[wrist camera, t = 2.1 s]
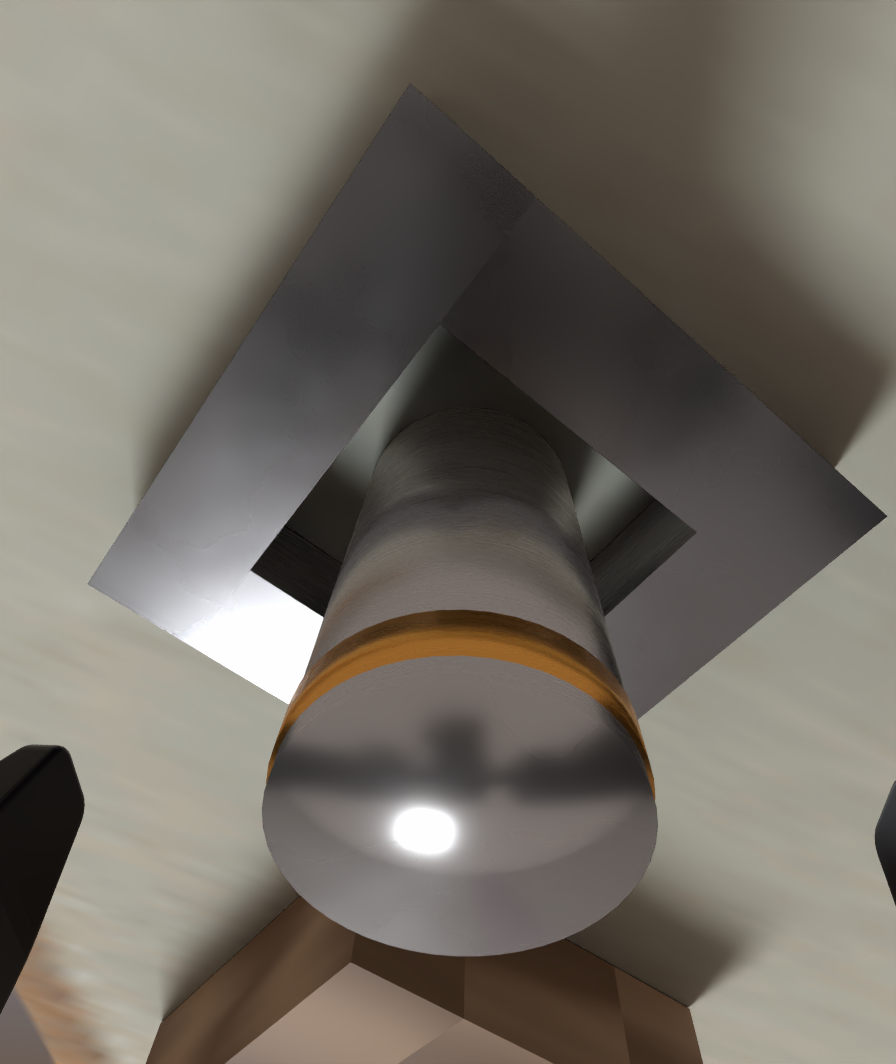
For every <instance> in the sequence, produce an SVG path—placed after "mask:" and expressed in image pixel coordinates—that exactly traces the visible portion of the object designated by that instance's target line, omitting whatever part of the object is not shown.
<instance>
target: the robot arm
mask: <svg viewBox="0 0 896 1064" xmlns="http://www.w3.org/2000/svg"><path fill="white" fill-rule="evenodd" d="M84 806H85V804H84V795H83V792H82V789H81V786H80V783H79V780H78V777H77V774H76V771H75V767H74V764H73V761H72V758H71V755H70V753H69V751H68V750H67V749H66V748H64V747H62V746H58V745H27V746H24V747H22V748H20V749H18V750H17V751H15V752H13V753H12V754H10V755H9V756H7V757H5V758H4V759H2V760H1V761H0V1014H1V1012H2V1010H3V1008H4V1006H5V1004H6V1002H7V1000H8V998H9V996H10V994H11V992H12V990H13V988H14V986H15V984H16V982H17V980H18V977H19V975H20V973H21V971H22V969H23V967H24V965H25V963H26V961H27V958H28V956H29V954H30V951H31V949H32V947H33V944H34V942H35V939H36V937H37V935H38V932H39V929H40V927H41V924H42V922H43V919H44V917H45V914H46V912H47V909H48V906H49V904H50V901H51V899H52V896H53V894H54V891H55V888H56V886H57V883H58V881H59V878H60V876H61V873H62V870H63V868H64V865H65V863H66V860H67V858H68V855H69V852H70V850H71V847H72V845H73V842H74V840H75V837H76V834H77V832H78V829H79V827H80V824H81V821H82V818H83V814H84ZM875 845H876V850H877V854H878V857H879V860H880V863H881V865H882V868H883V871H884V874H885V877H886V880H887V882H888V885H889V888H890V891H891V894H892V897H893V900H894V902H895V905H896V781H895V782H894V784H893V785H892V788H891V790H890V793H889V795H888V798H887V800H886V803H885V805H884V808H883V810H882V813H881V815H880V818H879V820H878V823H877V826H876V829H875Z"/></svg>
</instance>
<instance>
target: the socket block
mask: <svg viewBox="0 0 896 1064" xmlns="http://www.w3.org/2000/svg"><path fill="white" fill-rule="evenodd" d="M146 1064H703V1061H702V1057H701V1053H700V1049H699V1045H698V1041H697V1037H696V1033H695V1029H694V1025H693V1021H692V1017H691V1013H690V1009H689V1008H687V1007H685V1006H683V1005H682V1004H680V1003H678V1002H676V1001H674V1000H673V999H671V998H669V997H667V996H666V995H664V994H662V993H660V992H658V991H657V990H655V989H653V988H651V987H650V986H648V985H646V984H644V983H642V982H641V981H639V980H637V979H635V978H634V977H632V976H630V975H628V974H626V973H625V972H623V971H621V970H619V969H618V968H616V967H614V966H612V965H610V964H609V963H607V962H605V961H603V960H602V959H600V958H598V957H596V956H594V955H593V954H591V953H589V952H587V951H586V950H584V949H582V948H580V947H578V946H577V945H575V944H573V943H571V942H570V941H568V940H566V939H562V940H559V941H556V942H553V943H550V944H547V945H544V946H541V947H537V948H533V949H529V950H525V951H520V952H514V953H507V954H501V955H489V956H447V955H435V954H428V953H422V952H416V951H410V950H406V949H402V948H398V947H394V946H390V945H387V944H384V943H381V942H378V941H375V940H372V939H370V938H367V937H365V936H362V935H360V934H358V933H356V932H354V931H351V930H349V929H347V928H345V927H344V926H342V925H340V924H338V923H337V922H335V921H333V920H331V919H330V918H328V917H327V916H325V915H324V914H323V913H321V912H320V911H318V910H317V909H316V908H314V907H313V906H312V905H311V904H309V903H308V902H307V901H306V900H305V899H304V898H303V897H302V896H299V897H298V898H297V899H296V900H295V901H294V902H293V903H292V904H291V905H290V906H289V907H287V908H286V909H285V910H284V911H283V912H282V913H281V914H280V915H279V916H278V917H276V918H275V919H274V920H273V921H272V922H271V923H270V924H269V925H268V926H267V927H266V928H264V929H263V930H262V931H261V932H260V933H259V934H258V935H257V936H256V937H255V938H253V939H252V940H251V941H250V942H249V943H248V944H247V945H246V946H245V947H244V948H242V949H241V950H240V951H239V952H238V953H237V954H236V955H235V956H234V957H233V958H232V959H230V960H229V961H228V962H227V963H226V964H225V965H224V966H223V967H222V968H221V969H219V970H218V971H217V972H216V973H215V974H214V975H213V976H212V977H211V978H210V979H209V980H207V981H206V982H205V983H204V984H203V985H202V986H201V987H200V988H199V989H198V990H196V991H195V992H194V993H193V994H192V995H191V996H190V997H189V998H188V999H187V1000H185V1001H184V1002H183V1003H182V1004H181V1005H180V1006H179V1007H178V1008H177V1009H176V1010H175V1011H173V1012H172V1013H171V1014H170V1015H169V1016H168V1017H167V1018H166V1019H165V1020H164V1021H162V1022H161V1024H160V1027H159V1029H158V1032H157V1035H156V1037H155V1040H154V1043H153V1045H152V1048H151V1051H150V1054H149V1056H148V1059H147V1062H146Z"/></svg>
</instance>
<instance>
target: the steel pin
mask: <svg viewBox="0 0 896 1064" xmlns="http://www.w3.org/2000/svg"><path fill="white" fill-rule="evenodd" d="M262 817H263V829H264V833H265V837H266V841H267V845H268V847H269V850H270V852H271V854H272V857H273V859H274V861H275V863H276V865H277V866H278V868H279V869H280V871H281V872H282V874H283V876H284V877H285V878H286V880H287V881H288V882H289V883H290V884H291V886H292V887H293V888H294V889H295V890H296V891H297V893H299V894H300V895H301V896H302V897H303V898H304V899H305V900H306V901H307V902H308V903H309V904H311V905H312V906H313V907H314V908H316V909H317V910H318V911H320V912H321V913H323V914H324V915H325V916H327V917H328V918H330V919H331V920H333V921H335V922H337V923H338V924H340V925H342V926H344V927H345V928H347V929H349V930H351V931H354V932H356V933H358V934H360V935H362V936H365V937H367V938H370V939H372V940H375V941H378V942H381V943H384V944H387V945H390V946H394V947H398V948H402V949H406V950H410V951H416V952H422V953H428V954H435V955H447V956H489V955H501V954H507V953H514V952H520V951H525V950H529V949H533V948H537V947H541V946H544V945H547V944H550V943H553V942H556V941H559V940H562V939H564V938H566V937H569V936H571V935H573V934H575V933H577V932H579V931H582V930H584V929H585V928H587V927H589V926H590V925H592V924H594V923H595V922H597V921H599V920H600V919H602V918H603V917H604V916H606V915H607V914H608V913H609V912H611V911H612V910H613V909H615V908H616V907H617V906H618V905H619V904H620V903H621V902H622V901H623V900H624V899H625V898H626V897H627V896H628V895H629V894H630V893H631V892H632V890H633V889H634V888H635V886H636V885H637V884H638V882H639V881H640V879H641V878H642V876H643V874H644V872H645V871H646V869H647V867H648V865H649V863H650V861H651V857H652V854H653V851H654V848H655V844H656V837H657V828H658V821H657V808H656V804H655V788H654V778H653V774H652V770H651V766H650V763H649V759H648V755H647V752H646V748H645V745H644V741H643V738H642V734H641V731H640V727H639V724H638V720H637V716H636V713H635V711H634V708H633V706H632V704H631V702H630V700H629V698H628V695H627V694H626V692H625V690H624V687H623V683H622V679H621V676H620V672H619V669H618V665H617V661H616V658H615V654H614V650H613V647H612V643H611V639H610V636H609V632H608V628H607V625H606V621H605V618H604V614H603V610H602V607H601V603H600V599H599V596H598V592H597V588H596V585H595V581H594V577H593V574H592V570H591V567H590V563H589V559H588V556H587V552H586V548H585V545H584V541H583V537H582V534H581V530H580V526H579V523H578V519H577V515H576V512H575V508H574V505H573V501H572V497H571V494H570V490H569V486H568V483H567V479H566V475H565V472H564V469H563V467H562V464H561V462H560V460H559V458H558V456H557V455H556V453H555V451H554V450H553V448H552V447H551V446H550V445H549V443H548V442H547V441H546V440H545V439H544V438H543V437H542V436H541V435H540V434H539V433H538V432H537V431H536V430H534V429H533V428H532V427H530V426H529V425H527V424H526V423H524V422H523V421H521V420H519V419H517V418H515V417H513V416H510V415H508V414H505V413H502V412H499V411H495V410H490V409H486V408H475V407H464V408H453V409H447V410H442V411H439V412H436V413H433V414H430V415H428V416H425V417H423V418H421V419H419V420H417V421H416V422H414V423H412V424H411V425H409V426H408V427H406V428H405V429H404V430H403V431H401V432H400V433H399V434H398V435H397V436H396V437H395V438H394V439H393V440H392V441H391V442H390V443H389V445H388V446H387V448H386V449H385V450H384V452H383V453H382V455H381V457H380V459H379V461H378V463H377V465H376V468H375V470H374V473H373V476H372V479H371V482H370V485H369V488H368V491H367V494H366V497H365V499H364V502H363V505H362V508H361V511H360V514H359V517H358V520H357V523H356V526H355V528H354V531H353V534H352V537H351V540H350V543H349V546H348V549H347V552H346V555H345V558H344V560H343V563H342V566H341V569H340V572H339V575H338V578H337V581H336V584H335V587H334V589H333V592H332V595H331V598H330V601H329V604H328V607H327V610H326V613H325V616H324V618H323V621H322V624H321V627H320V630H319V633H318V636H317V639H316V642H315V645H314V647H313V650H312V653H311V656H310V659H309V662H308V665H307V668H306V671H305V674H304V677H303V679H302V680H301V682H300V683H299V685H298V687H297V689H296V691H295V693H294V694H293V696H292V698H291V700H290V703H289V706H288V709H287V712H286V714H285V717H284V720H283V723H282V726H281V729H280V731H279V734H278V737H277V740H276V743H275V746H274V749H273V752H272V755H271V758H270V761H269V765H268V773H267V780H266V788H265V791H264V798H263V805H262Z"/></svg>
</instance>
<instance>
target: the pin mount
mask: <svg viewBox="0 0 896 1064" xmlns="http://www.w3.org/2000/svg"><path fill="white" fill-rule="evenodd" d="M439 324H441V325H442V326H443V327H444V328H446V329H447V330H448V331H449V332H451V333H452V334H453V335H454V336H456V337H457V338H458V339H459V340H461V341H462V342H463V343H464V344H465V345H467V346H468V347H469V348H470V349H472V350H473V351H474V352H475V353H477V354H478V355H479V356H480V357H481V358H483V359H484V360H485V361H486V362H488V363H489V364H490V365H491V366H493V367H494V368H495V369H496V370H497V371H499V372H500V373H501V374H502V375H504V376H505V377H506V378H507V379H509V380H510V381H511V382H512V383H514V384H515V385H516V386H517V387H518V388H520V389H521V390H522V391H523V392H525V393H526V394H527V395H528V396H530V397H531V398H532V399H533V400H534V401H536V402H537V403H538V404H539V405H541V406H542V407H543V408H544V409H546V410H547V411H548V412H549V413H551V414H552V415H553V416H554V417H555V418H557V419H558V420H559V421H560V422H562V423H563V424H564V425H565V426H567V427H568V428H569V429H570V430H571V431H573V432H574V433H575V434H576V435H578V436H579V437H580V438H581V439H583V440H584V441H585V442H586V443H588V444H589V445H590V446H591V447H592V448H594V449H595V450H596V451H597V452H599V453H600V454H601V455H602V456H604V457H605V458H606V459H607V460H608V461H610V462H611V463H612V464H613V465H615V466H616V467H617V468H618V469H620V470H621V471H622V472H623V473H625V474H626V475H627V476H628V477H629V478H631V479H632V480H633V481H634V482H636V483H637V484H638V485H639V486H641V487H642V488H643V489H644V490H645V491H647V492H648V493H649V494H650V495H652V496H653V497H654V498H655V500H654V501H653V502H652V503H651V504H650V505H649V506H648V507H647V508H646V509H645V510H644V511H643V512H642V513H641V514H640V515H639V516H638V517H637V518H635V519H634V520H633V521H632V522H631V523H630V524H629V525H628V526H627V527H626V528H625V529H624V530H623V531H622V532H621V533H620V534H619V535H618V536H617V537H616V538H615V539H614V540H613V541H612V542H611V543H610V544H609V545H608V546H606V547H605V548H604V549H603V550H602V551H601V552H600V553H599V554H598V555H597V556H596V557H595V558H594V559H593V560H592V561H591V562H590V567H591V570H592V574H593V577H594V581H595V585H596V588H597V592H598V596H599V599H600V603H601V607H602V610H603V614H604V618H605V621H606V625H607V628H608V632H609V636H610V639H611V643H612V647H613V650H614V654H615V658H616V661H617V665H618V669H619V672H620V676H621V679H622V683H623V687H624V690H625V692H626V694H627V695H628V698H629V700H630V702H631V704H632V706H633V708H634V711H635V713H636V716H637V720H638V719H639V718H640V717H641V716H643V715H644V714H645V713H646V712H648V711H649V710H650V709H651V708H652V707H654V706H655V705H656V704H657V703H659V702H660V701H661V700H662V699H663V698H665V697H666V696H667V695H668V694H670V693H671V692H672V691H673V690H675V689H676V688H677V687H678V686H679V685H681V684H682V683H683V682H684V681H686V680H687V679H688V678H689V677H690V676H692V675H693V674H694V673H695V672H697V671H698V670H699V669H700V668H702V667H703V666H704V665H705V664H706V663H708V662H709V661H710V660H711V659H713V658H714V657H715V656H716V655H718V654H719V653H720V652H721V651H722V650H724V649H725V648H726V647H727V646H729V645H730V644H731V643H732V642H733V641H735V640H736V639H737V638H738V637H740V636H741V635H742V634H743V633H745V632H746V631H747V630H748V629H749V628H751V627H752V626H753V625H754V624H756V623H757V622H758V621H759V620H760V619H762V618H763V617H764V616H765V615H767V614H768V613H769V612H770V611H772V610H773V609H774V608H775V607H776V606H778V605H779V604H780V603H781V602H783V601H784V600H785V599H786V598H788V597H789V596H790V595H791V594H792V593H794V592H795V591H796V590H797V589H799V588H800V587H801V586H802V585H803V584H805V583H806V582H807V581H808V580H810V579H811V578H812V577H813V576H815V575H816V574H817V573H818V572H819V571H821V570H822V569H823V568H824V567H826V566H827V565H828V564H829V563H830V562H832V561H833V560H834V559H835V558H837V557H838V556H839V555H840V554H842V553H843V552H844V551H845V550H846V549H848V548H849V547H850V546H851V545H853V544H854V543H855V542H856V541H857V540H859V539H860V538H861V537H862V536H864V535H865V534H866V533H867V532H869V531H870V530H871V529H872V528H873V527H875V526H876V525H877V524H878V523H880V522H881V521H882V520H883V519H885V518H886V517H887V516H886V515H885V514H884V513H883V512H882V511H881V510H880V509H879V508H878V507H877V506H875V505H874V504H873V503H872V502H871V501H870V500H869V499H868V498H867V497H866V496H864V495H863V494H862V493H861V492H860V491H859V490H858V489H857V488H856V487H855V486H853V485H852V484H851V483H850V482H849V481H848V480H847V479H846V478H845V477H844V476H842V475H841V474H840V473H839V472H838V471H837V470H836V469H835V468H834V467H833V466H831V465H830V464H829V463H828V462H827V461H826V460H825V459H824V458H823V457H822V456H820V455H819V454H818V453H817V452H816V451H815V450H814V449H813V448H812V447H810V446H809V445H808V444H807V443H806V442H805V441H804V440H803V439H802V438H801V437H799V436H798V435H797V434H796V433H795V432H794V431H793V430H792V429H791V428H790V427H788V426H787V425H786V424H785V423H784V422H783V421H782V420H781V419H780V418H779V417H777V416H776V415H775V414H774V413H773V412H772V411H771V410H770V409H769V408H768V407H766V406H765V405H764V404H763V403H762V402H761V401H760V400H759V399H758V398H757V397H755V396H754V395H753V394H752V393H751V392H750V391H749V390H748V389H747V388H746V387H744V386H743V385H742V384H741V383H740V382H739V381H738V380H737V379H736V378H735V377H733V376H732V375H731V374H730V373H729V372H728V371H727V370H726V369H725V368H724V367H722V366H721V365H720V364H719V363H718V362H717V361H716V360H715V359H714V358H713V357H711V356H710V355H709V354H708V353H707V352H706V351H705V350H704V349H703V348H702V347H700V346H699V345H698V344H697V343H696V342H695V341H694V340H693V339H692V338H691V337H689V336H688V335H687V334H686V333H685V332H684V331H683V330H682V329H681V328H680V327H678V326H677V325H676V324H675V323H674V322H673V321H672V320H671V319H670V318H669V317H667V316H666V315H665V314H664V313H663V312H662V311H661V310H660V309H659V308H658V307H656V306H655V305H654V304H653V303H652V302H651V301H650V300H649V299H648V298H647V297H645V296H644V295H643V294H642V293H641V292H640V291H639V290H638V289H637V288H635V287H634V286H633V285H632V284H631V283H630V282H629V281H628V280H627V279H626V278H624V277H623V276H622V275H621V274H620V273H619V272H618V271H617V270H616V269H615V268H613V267H612V266H611V265H610V264H609V263H608V262H607V261H606V260H605V259H604V258H602V257H601V256H600V255H599V254H598V253H597V252H596V251H595V250H594V249H593V248H591V247H590V246H589V245H588V244H587V243H586V242H585V241H584V240H583V239H582V238H580V237H579V236H578V235H577V234H576V233H575V232H574V231H573V230H572V229H571V228H569V227H568V226H567V225H566V224H565V223H564V222H563V221H562V220H561V219H560V218H558V217H557V216H556V215H555V214H554V213H553V212H552V211H551V210H550V209H549V208H547V207H546V206H545V205H544V204H543V203H542V202H541V201H540V200H539V199H538V198H536V197H535V196H534V195H533V194H532V193H531V192H530V191H529V190H528V189H527V188H525V187H524V186H523V185H522V184H521V183H520V182H519V181H518V180H517V179H516V178H514V177H513V176H512V175H511V174H510V173H509V172H508V171H507V170H506V169H505V168H503V167H502V166H501V165H500V164H499V163H498V162H497V161H496V160H495V159H494V158H492V157H491V156H490V155H489V154H488V153H487V152H486V151H485V150H484V149H483V148H481V147H480V146H479V145H478V144H477V143H476V142H475V141H474V140H473V139H472V138H470V137H469V136H468V135H467V134H466V133H465V132H464V131H463V130H462V129H460V128H459V127H458V126H457V125H456V124H455V123H454V122H453V121H452V120H451V119H449V118H448V117H447V116H446V115H445V114H444V113H443V112H442V111H441V110H440V109H438V108H437V107H436V106H435V105H434V104H433V103H432V102H431V101H430V100H429V99H427V98H426V97H425V96H424V95H423V94H422V93H421V92H420V91H419V90H418V89H416V88H415V87H414V86H413V85H412V84H411V83H410V84H409V86H408V87H407V89H406V90H405V92H404V94H403V95H402V97H401V98H400V100H399V101H398V103H397V104H396V106H395V108H394V109H393V111H392V112H391V114H390V115H389V117H388V118H387V120H386V122H385V123H384V125H383V126H382V128H381V129H380V131H379V132H378V134H377V135H376V137H375V139H374V140H373V142H372V143H371V145H370V146H369V148H368V149H367V151H366V153H365V154H364V156H363V157H362V159H361V160H360V162H359V163H358V165H357V166H356V168H355V170H354V171H353V173H352V174H351V176H350V177H349V179H348V180H347V182H346V184H345V185H344V187H343V188H342V190H341V191H340V193H339V194H338V196H337V198H336V199H335V201H334V202H333V204H332V205H331V207H330V208H329V210H328V211H327V213H326V215H325V216H324V218H323V219H322V221H321V222H320V224H319V225H318V227H317V229H316V230H315V232H314V233H313V235H312V236H311V238H310V239H309V241H308V242H307V244H306V246H305V247H304V249H303V250H302V252H301V253H300V255H299V256H298V258H297V260H296V261H295V263H294V264H293V266H292V267H291V269H290V270H289V272H288V274H287V275H286V277H285V278H284V280H283V281H282V283H281V284H280V286H279V287H278V289H277V291H276V292H275V294H274V295H273V297H272V298H271V300H270V301H269V303H268V305H267V306H266V308H265V309H264V311H263V312H262V314H261V315H260V317H259V319H258V320H257V322H256V323H255V325H254V326H253V328H252V329H251V331H250V332H249V334H248V336H247V337H246V339H245V340H244V342H243V343H242V345H241V346H240V348H239V350H238V351H237V353H236V354H235V356H234V357H233V359H232V360H231V362H230V363H229V365H228V367H227V368H226V370H225V371H224V373H223V374H222V376H221V377H220V379H219V381H218V382H217V384H216V385H215V387H214V388H213V390H212V391H211V393H210V395H209V396H208V398H207V399H206V401H205V402H204V404H203V405H202V407H201V408H200V410H199V412H198V413H197V415H196V416H195V418H194V419H193V421H192V422H191V424H190V426H189V427H188V429H187V430H186V432H185V433H184V435H183V436H182V438H181V440H180V441H179V443H178V444H177V446H176V447H175V449H174V450H173V452H172V453H171V455H170V457H169V458H168V460H167V461H166V463H165V464H164V466H163V467H162V469H161V471H160V472H159V474H158V475H157V477H156V478H155V480H154V481H153V483H152V484H151V486H150V488H149V489H148V491H147V492H146V494H145V495H144V497H143V498H142V500H141V502H140V503H139V505H138V506H137V508H136V509H135V511H134V512H133V514H132V516H131V517H130V519H129V520H128V522H127V523H126V525H125V526H124V528H123V529H122V531H121V533H120V534H119V536H118V537H117V539H116V540H115V542H114V543H113V545H112V547H111V548H110V550H109V551H108V553H107V554H106V556H105V557H104V559H103V561H102V562H101V564H100V565H99V567H98V568H97V570H96V571H95V573H94V574H93V576H92V578H91V579H90V581H89V582H88V585H90V586H91V587H93V588H95V589H96V590H98V591H100V592H101V593H103V594H105V595H106V596H108V597H110V598H112V599H113V600H115V601H117V602H118V603H120V604H122V605H123V606H125V607H127V608H128V609H130V610H132V611H133V612H135V613H137V614H138V615H140V616H142V617H143V618H145V619H147V620H148V621H150V622H152V623H153V624H155V625H157V626H158V627H160V628H162V629H163V630H165V631H167V632H169V633H170V634H172V635H174V636H175V637H177V638H179V639H180V640H182V641H184V642H185V643H187V644H189V645H190V646H192V647H194V648H195V649H197V650H199V651H200V652H202V653H204V654H205V655H207V656H209V657H210V658H212V659H214V660H215V661H217V662H219V663H221V664H222V665H224V666H226V667H227V668H229V669H231V670H232V671H234V672H236V673H237V674H239V675H241V676H242V677H244V678H246V679H247V680H249V681H251V682H252V683H254V684H256V685H257V686H259V687H261V688H262V689H264V690H266V691H267V692H269V693H271V694H272V695H274V696H276V697H278V698H279V699H281V700H283V701H284V702H286V703H288V704H289V703H290V700H291V698H292V696H293V694H294V693H295V691H296V689H297V687H298V685H299V683H300V682H301V680H302V679H303V677H304V674H305V671H306V668H307V665H308V662H309V659H310V656H311V653H312V650H313V647H314V645H315V642H316V639H317V636H318V633H319V630H320V627H321V624H322V621H323V618H324V616H325V613H326V610H327V607H328V604H329V601H330V598H331V595H332V592H333V589H334V587H335V584H336V581H337V578H338V575H339V572H340V569H341V566H342V564H341V563H339V562H338V561H336V560H335V559H333V558H332V557H330V556H329V555H327V554H326V553H324V552H323V551H321V550H320V549H318V548H317V547H315V546H314V545H312V544H311V543H309V542H308V541H306V540H305V539H303V538H302V537H300V536H299V535H298V534H296V533H295V532H293V531H292V530H290V529H289V528H287V527H286V526H284V525H285V524H286V523H287V521H288V520H289V519H290V517H291V516H292V515H293V514H294V512H295V511H296V510H297V508H298V507H299V506H300V504H301V503H302V502H303V501H304V499H305V498H306V497H307V495H308V494H309V493H310V491H311V490H312V489H313V488H314V486H315V485H316V484H317V482H318V481H319V480H320V478H321V477H322V476H323V474H324V473H325V472H326V471H327V469H328V468H329V467H330V465H331V464H332V463H333V461H334V460H335V459H336V458H337V456H338V455H339V454H340V452H341V451H342V450H343V448H344V447H345V446H346V445H347V443H348V442H349V441H350V439H351V438H352V437H353V435H354V434H355V433H356V432H357V430H358V429H359V428H360V426H361V425H362V424H363V422H364V421H365V420H366V419H367V417H368V416H369V415H370V413H371V412H372V411H373V409H374V408H375V407H376V406H377V404H378V403H379V402H380V400H381V399H382V398H383V396H384V395H385V394H386V393H387V391H388V390H389V389H390V387H391V386H392V385H393V383H394V382H395V381H396V379H397V378H398V377H399V376H400V374H401V373H402V372H403V370H404V369H405V368H406V366H407V365H408V364H409V363H410V361H411V360H412V359H413V357H414V356H415V355H416V353H417V352H418V351H419V350H420V348H421V347H422V346H423V344H424V343H425V342H426V340H427V339H428V338H429V337H430V335H431V334H432V333H433V331H434V330H435V329H436V327H437V326H438V325H439Z"/></svg>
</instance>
